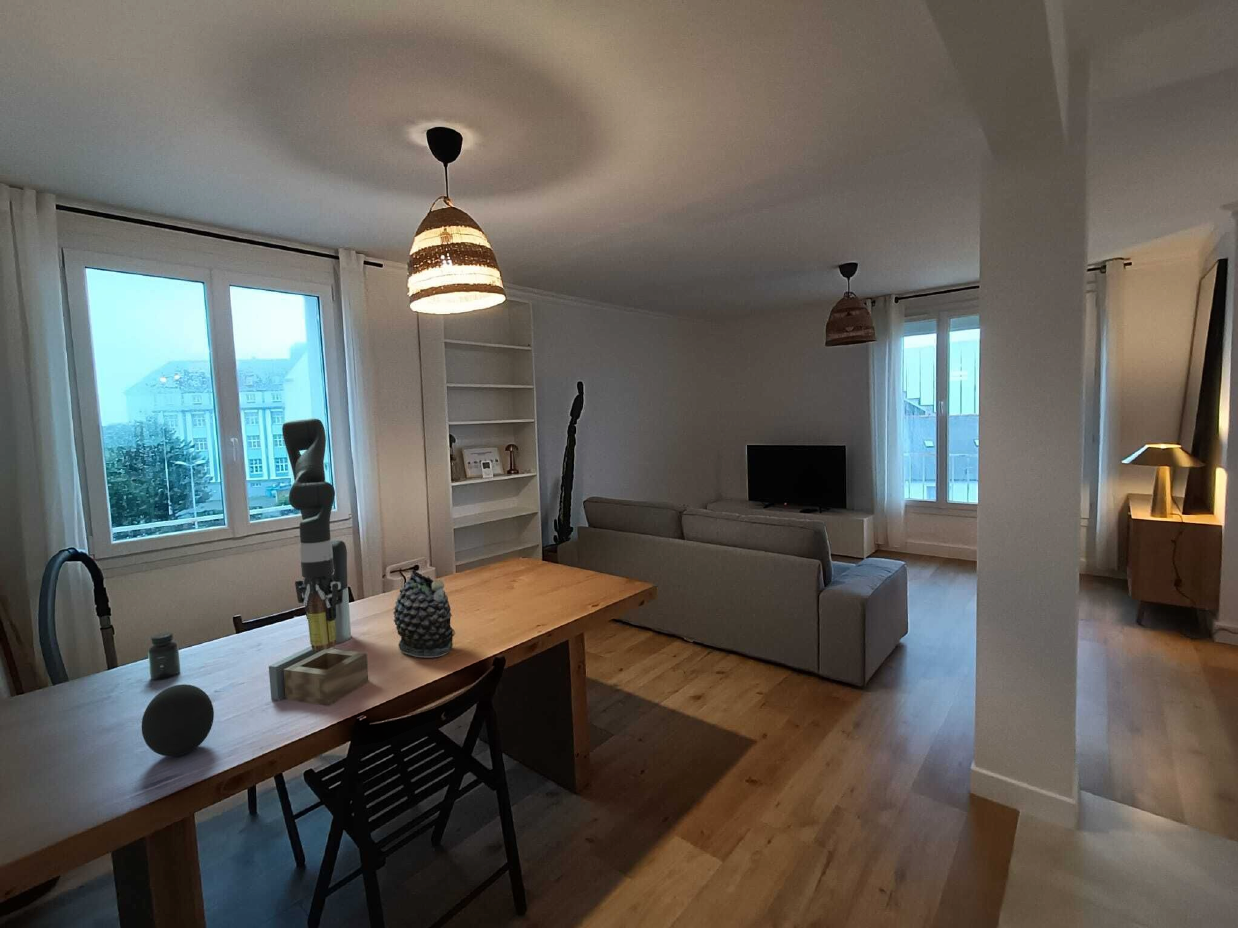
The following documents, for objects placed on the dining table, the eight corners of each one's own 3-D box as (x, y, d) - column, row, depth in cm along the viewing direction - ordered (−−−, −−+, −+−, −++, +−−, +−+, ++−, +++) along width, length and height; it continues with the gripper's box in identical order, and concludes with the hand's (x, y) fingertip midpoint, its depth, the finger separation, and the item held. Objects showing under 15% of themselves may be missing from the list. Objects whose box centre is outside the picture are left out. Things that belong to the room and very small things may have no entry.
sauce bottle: (330, 640, 155) (325, 569, 153) (341, 645, 151) (336, 573, 150) (305, 648, 150) (300, 575, 148) (315, 654, 146) (310, 578, 144)
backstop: (271, 699, 147) (268, 665, 146) (320, 672, 162) (318, 642, 161) (278, 700, 146) (275, 666, 145) (327, 673, 161) (324, 643, 160)
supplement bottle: (145, 682, 160) (141, 641, 159) (158, 672, 166) (154, 632, 165) (173, 678, 162) (169, 637, 161) (184, 668, 168) (181, 629, 167)
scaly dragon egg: (467, 647, 177) (463, 569, 175) (429, 666, 164) (424, 582, 162) (422, 636, 188) (418, 563, 186) (383, 653, 175) (378, 574, 173)
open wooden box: (285, 699, 146) (283, 669, 146) (328, 675, 160) (326, 648, 159) (328, 705, 142) (326, 674, 142) (368, 680, 156) (366, 652, 155)
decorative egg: (223, 750, 124) (217, 684, 123) (151, 777, 114) (144, 706, 113) (208, 731, 132) (203, 669, 131) (140, 755, 123) (133, 688, 122)
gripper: (283, 559, 147) (288, 622, 148) (327, 562, 143) (331, 626, 144) (307, 553, 154) (311, 612, 156) (349, 555, 150) (353, 616, 151)
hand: (321, 619), depth 150 cm, fingers closed on sauce bottle, 6 cm apart
